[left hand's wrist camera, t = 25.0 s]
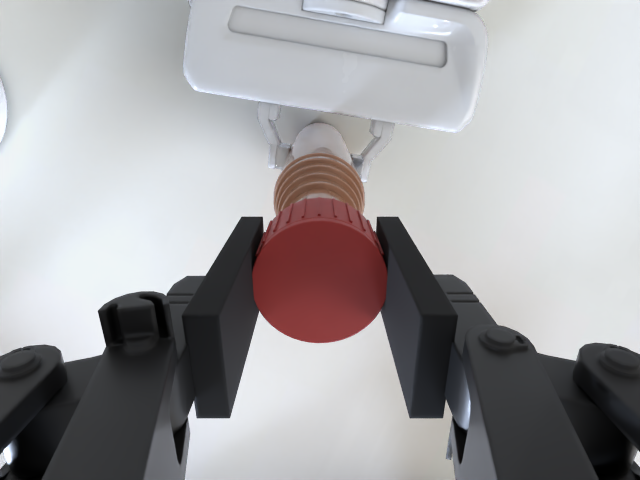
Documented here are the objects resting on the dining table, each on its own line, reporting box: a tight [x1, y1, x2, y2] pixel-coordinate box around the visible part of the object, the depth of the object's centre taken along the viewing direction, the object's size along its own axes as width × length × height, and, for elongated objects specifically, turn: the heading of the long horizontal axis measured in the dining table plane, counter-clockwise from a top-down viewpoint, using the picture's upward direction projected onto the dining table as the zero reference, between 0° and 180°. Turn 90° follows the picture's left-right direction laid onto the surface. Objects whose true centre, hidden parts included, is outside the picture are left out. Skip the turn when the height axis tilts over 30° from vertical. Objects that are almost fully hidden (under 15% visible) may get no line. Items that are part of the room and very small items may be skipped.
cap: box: [252, 197, 387, 343], centre depth 13 cm, size 4×4×3 cm
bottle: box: [274, 123, 365, 216], centre depth 25 cm, size 5×5×24 cm
